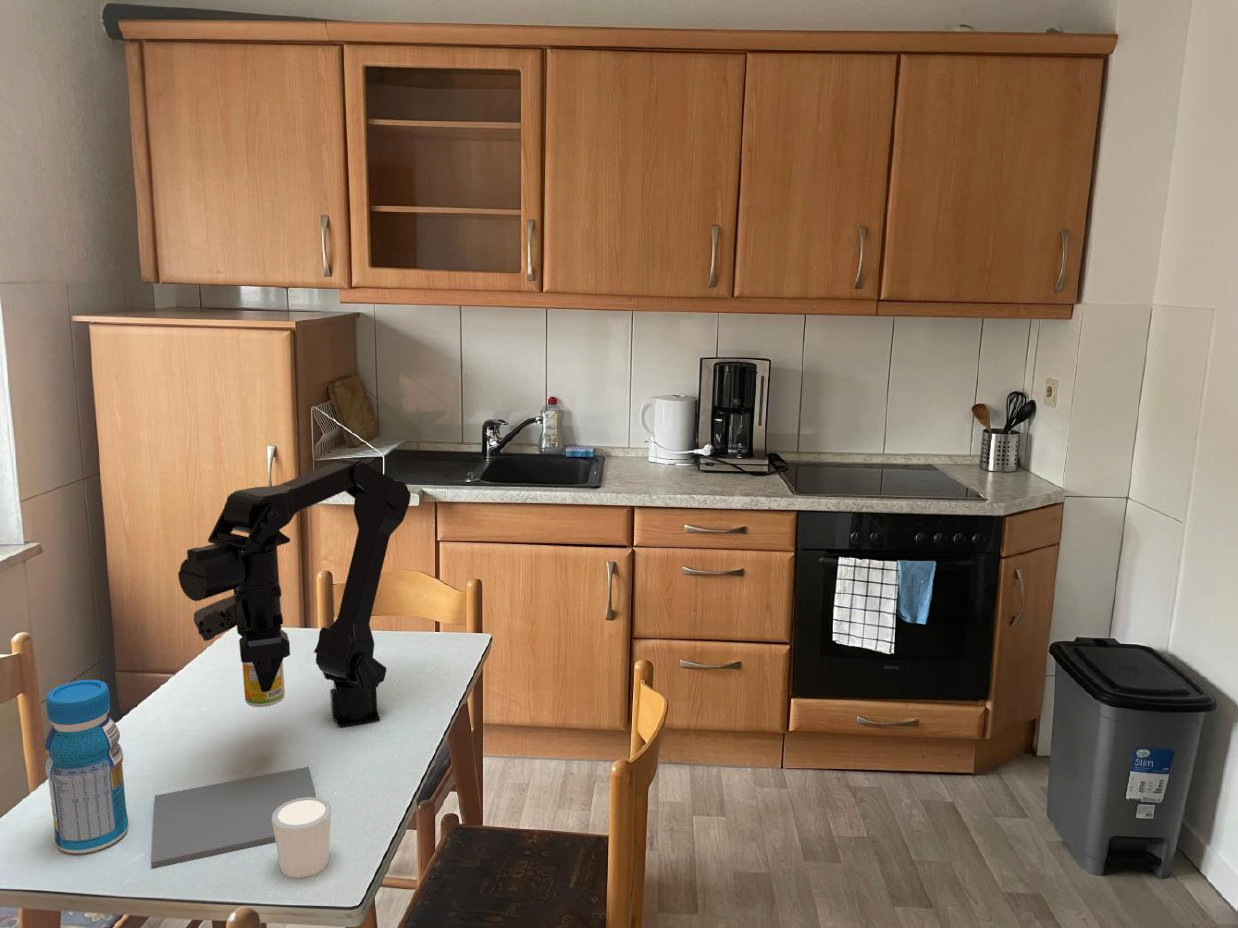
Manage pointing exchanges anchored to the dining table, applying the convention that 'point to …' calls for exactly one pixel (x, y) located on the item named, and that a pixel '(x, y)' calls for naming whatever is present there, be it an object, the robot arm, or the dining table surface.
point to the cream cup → (302, 836)
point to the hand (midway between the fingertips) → (264, 683)
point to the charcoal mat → (222, 815)
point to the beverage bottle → (84, 768)
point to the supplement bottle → (253, 689)
